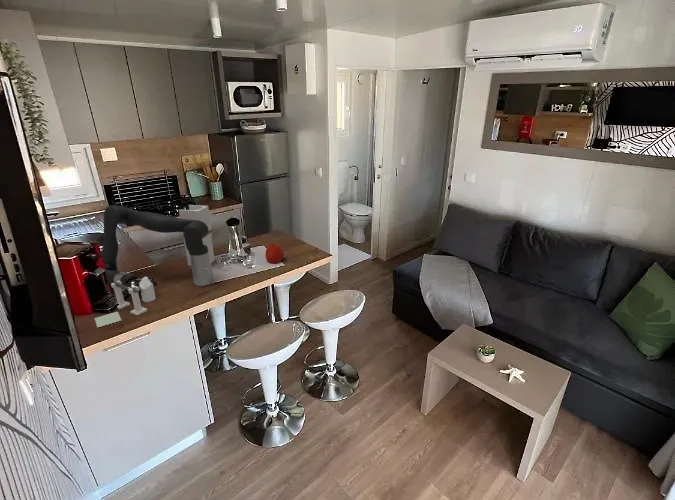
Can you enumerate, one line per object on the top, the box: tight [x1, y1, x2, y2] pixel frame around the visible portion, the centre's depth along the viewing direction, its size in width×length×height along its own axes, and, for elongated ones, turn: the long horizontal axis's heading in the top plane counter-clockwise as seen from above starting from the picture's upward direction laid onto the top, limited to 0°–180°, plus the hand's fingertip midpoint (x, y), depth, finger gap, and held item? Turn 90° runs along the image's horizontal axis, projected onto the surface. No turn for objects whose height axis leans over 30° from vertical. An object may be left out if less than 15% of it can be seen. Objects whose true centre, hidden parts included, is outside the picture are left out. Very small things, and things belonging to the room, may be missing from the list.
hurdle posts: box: [110, 281, 148, 317], centre depth 163 cm, size 17×5×12 cm, turn 64°
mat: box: [94, 311, 123, 329], centre depth 156 cm, size 9×9×1 cm
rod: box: [114, 283, 138, 293], centre depth 161 cm, size 16×1×1 cm, turn 64°
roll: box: [139, 276, 157, 303], centre depth 171 cm, size 6×12×6 cm
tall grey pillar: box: [178, 204, 217, 270], centre depth 203 cm, size 11×11×35 cm
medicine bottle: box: [242, 236, 252, 255], centre depth 222 cm, size 7×7×12 cm
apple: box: [264, 243, 284, 264], centre depth 215 cm, size 11×11×11 cm
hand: (148, 287), depth 171 cm, fingers open, 8 cm apart
